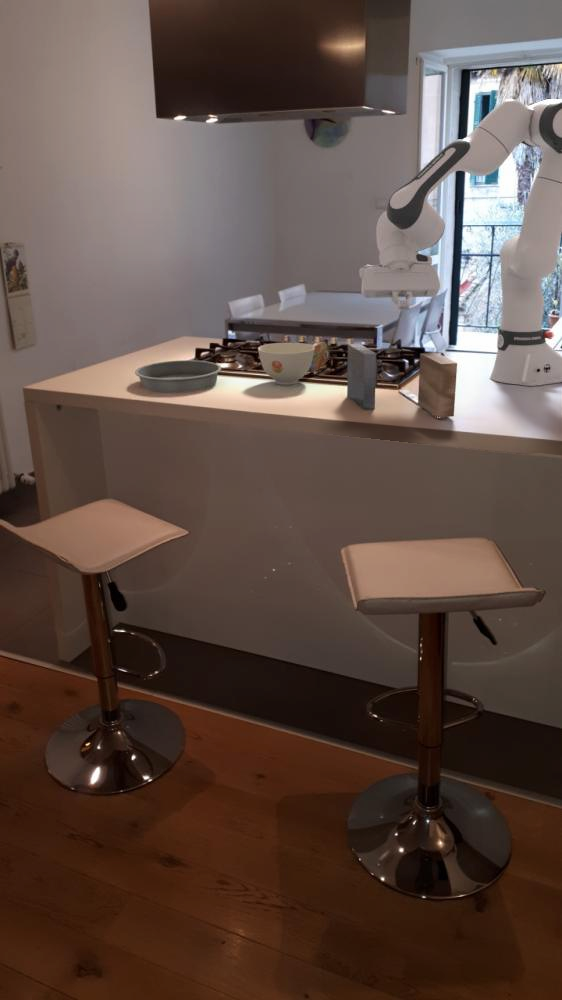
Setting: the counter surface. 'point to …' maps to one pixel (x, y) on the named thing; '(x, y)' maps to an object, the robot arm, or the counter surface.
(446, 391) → the brown flat angular block
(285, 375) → the bowl
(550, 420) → the counter surface
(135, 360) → the counter surface
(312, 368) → the tin
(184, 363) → the cake pan
